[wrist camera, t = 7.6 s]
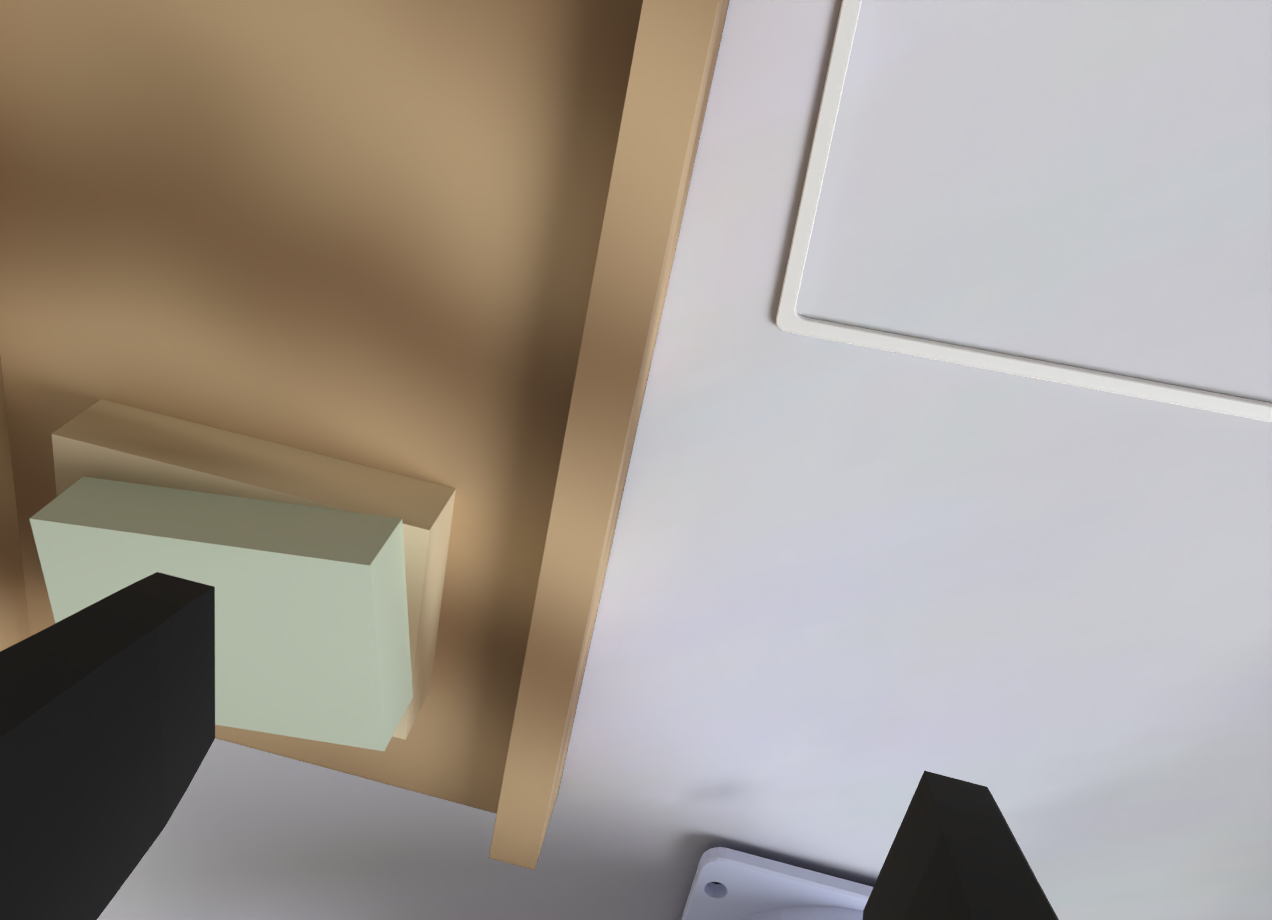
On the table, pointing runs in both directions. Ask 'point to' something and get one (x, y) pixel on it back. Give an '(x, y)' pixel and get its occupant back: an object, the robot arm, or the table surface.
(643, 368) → the tray
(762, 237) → the table surface
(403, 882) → the table surface
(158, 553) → the offcut
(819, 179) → the white rimmed panel
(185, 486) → the offcut
